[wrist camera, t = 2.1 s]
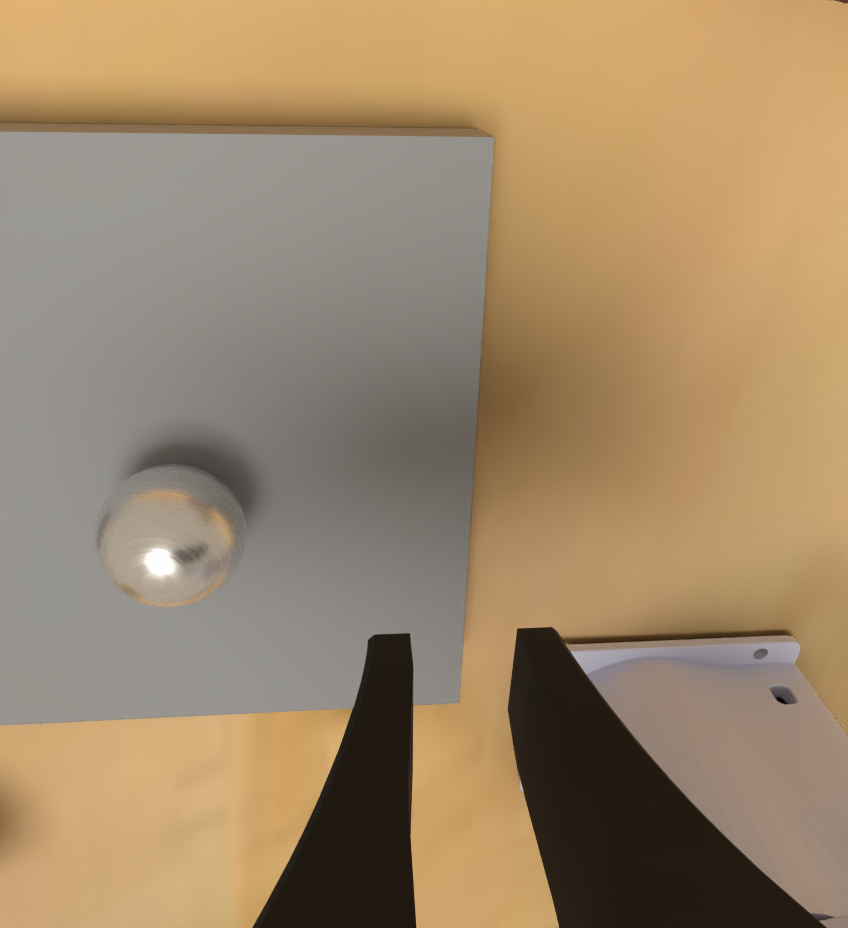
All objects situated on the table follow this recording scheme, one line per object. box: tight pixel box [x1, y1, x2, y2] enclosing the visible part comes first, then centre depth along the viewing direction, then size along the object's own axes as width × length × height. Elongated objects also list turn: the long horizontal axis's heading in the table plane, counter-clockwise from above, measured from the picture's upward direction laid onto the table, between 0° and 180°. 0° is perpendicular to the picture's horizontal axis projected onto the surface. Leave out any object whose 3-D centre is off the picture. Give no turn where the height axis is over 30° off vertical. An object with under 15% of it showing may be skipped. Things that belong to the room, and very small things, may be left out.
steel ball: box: [94, 464, 247, 608], centre depth 15 cm, size 3×3×3 cm
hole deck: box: [0, 123, 494, 725], centre depth 17 cm, size 20×16×2 cm
